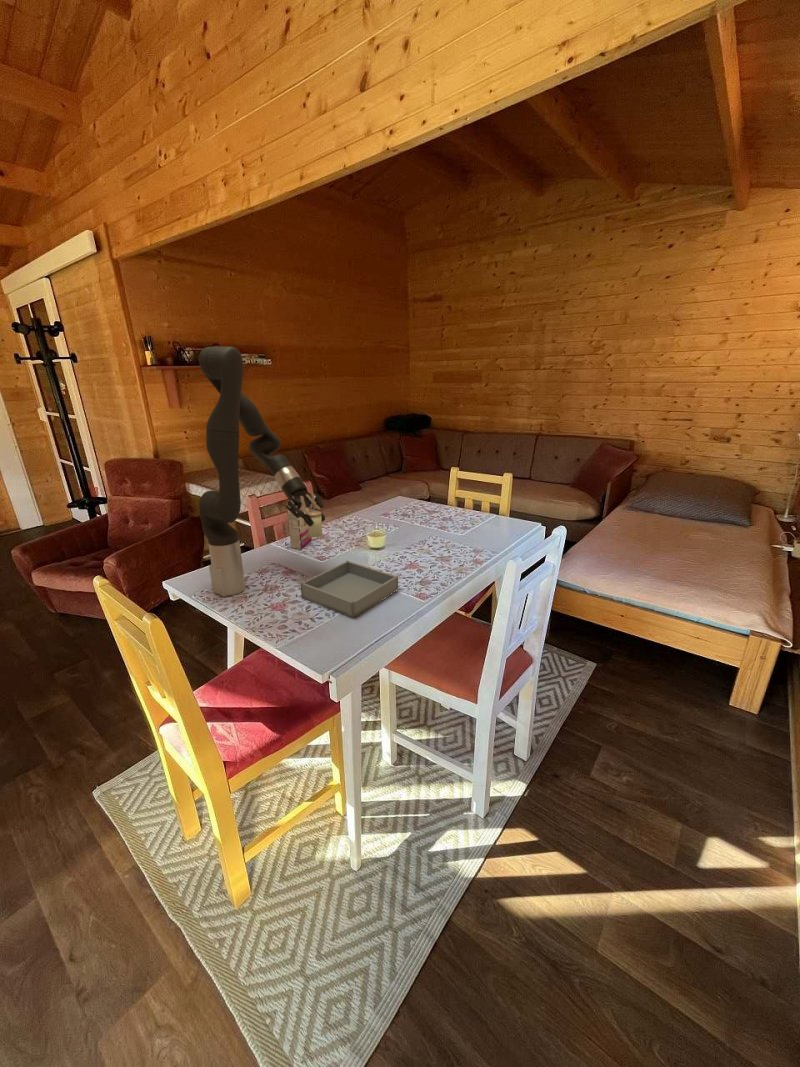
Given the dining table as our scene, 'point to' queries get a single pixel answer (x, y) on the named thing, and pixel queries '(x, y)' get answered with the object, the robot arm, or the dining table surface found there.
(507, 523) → the dining table surface
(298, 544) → the candy bar box
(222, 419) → the robot arm
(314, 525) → the lidded yellow jar
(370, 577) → the bin
